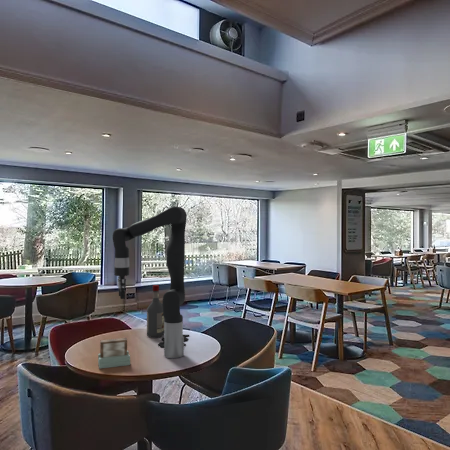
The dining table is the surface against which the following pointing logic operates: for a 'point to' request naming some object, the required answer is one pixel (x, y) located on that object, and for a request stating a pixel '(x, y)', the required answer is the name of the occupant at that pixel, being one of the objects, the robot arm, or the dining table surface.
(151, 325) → the liquor
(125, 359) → the picture ledge
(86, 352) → the dining table surface
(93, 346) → the dining table surface
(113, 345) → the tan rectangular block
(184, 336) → the figurine
